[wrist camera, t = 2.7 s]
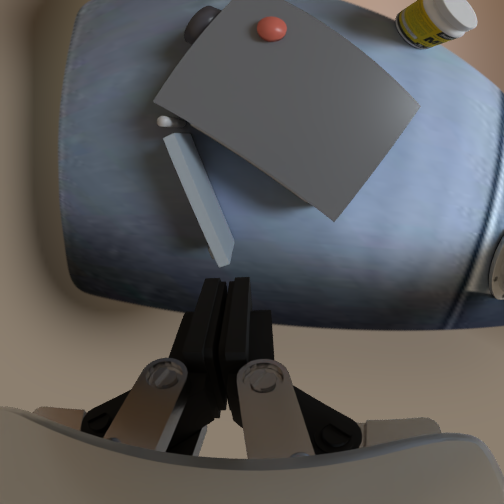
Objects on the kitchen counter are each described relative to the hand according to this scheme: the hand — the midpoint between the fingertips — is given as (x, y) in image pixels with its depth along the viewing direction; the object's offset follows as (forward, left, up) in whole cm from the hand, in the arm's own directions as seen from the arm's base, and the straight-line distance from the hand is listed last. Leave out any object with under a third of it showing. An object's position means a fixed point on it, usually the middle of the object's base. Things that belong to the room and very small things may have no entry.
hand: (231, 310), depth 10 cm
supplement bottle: (-2, -26, -16) cm, 30 cm away
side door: (+4, +1, -15) cm, 16 cm away
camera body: (+4, -9, -15) cm, 18 cm away
